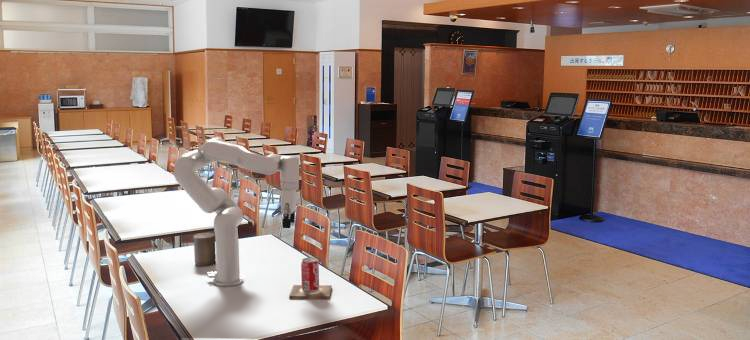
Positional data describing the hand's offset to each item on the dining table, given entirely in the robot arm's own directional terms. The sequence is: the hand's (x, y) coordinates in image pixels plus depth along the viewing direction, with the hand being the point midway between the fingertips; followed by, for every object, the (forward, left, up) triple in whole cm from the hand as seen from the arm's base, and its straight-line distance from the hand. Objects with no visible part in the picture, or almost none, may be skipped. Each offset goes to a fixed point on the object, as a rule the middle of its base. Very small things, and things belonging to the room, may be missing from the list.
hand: (288, 225), depth 272 cm
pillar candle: (-44, +27, -26) cm, 58 cm away
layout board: (+10, -12, -26) cm, 30 cm away
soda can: (+10, -12, -25) cm, 29 cm away
